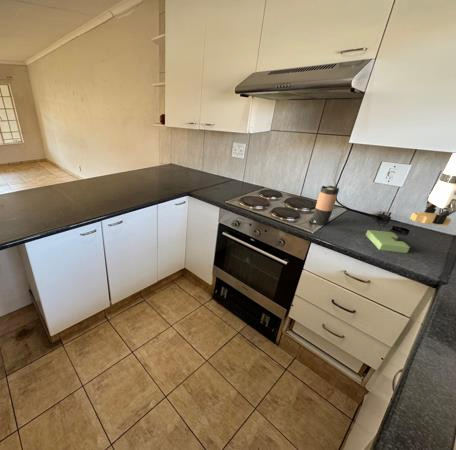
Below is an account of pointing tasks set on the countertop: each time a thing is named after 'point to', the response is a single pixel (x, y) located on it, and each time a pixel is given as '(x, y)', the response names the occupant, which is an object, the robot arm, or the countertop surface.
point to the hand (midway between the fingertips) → (432, 220)
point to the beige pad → (427, 218)
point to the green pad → (387, 241)
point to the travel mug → (325, 204)
